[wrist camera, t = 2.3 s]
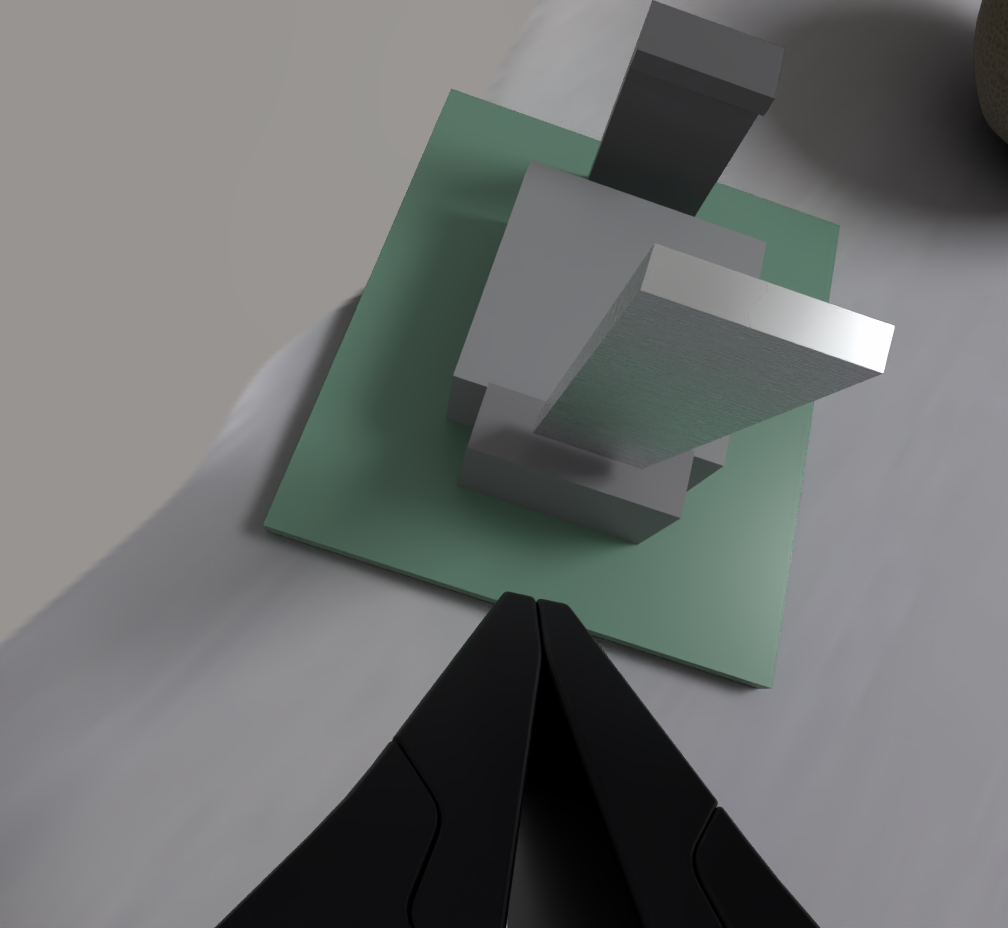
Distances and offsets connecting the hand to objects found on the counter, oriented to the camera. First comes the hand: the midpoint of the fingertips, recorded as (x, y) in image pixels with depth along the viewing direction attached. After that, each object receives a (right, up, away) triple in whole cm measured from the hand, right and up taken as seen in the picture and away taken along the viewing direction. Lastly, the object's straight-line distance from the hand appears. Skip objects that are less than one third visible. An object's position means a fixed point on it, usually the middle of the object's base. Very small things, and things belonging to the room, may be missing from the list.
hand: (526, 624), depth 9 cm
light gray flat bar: (+2, +3, +9) cm, 10 cm away
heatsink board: (+3, +6, +15) cm, 17 cm away
